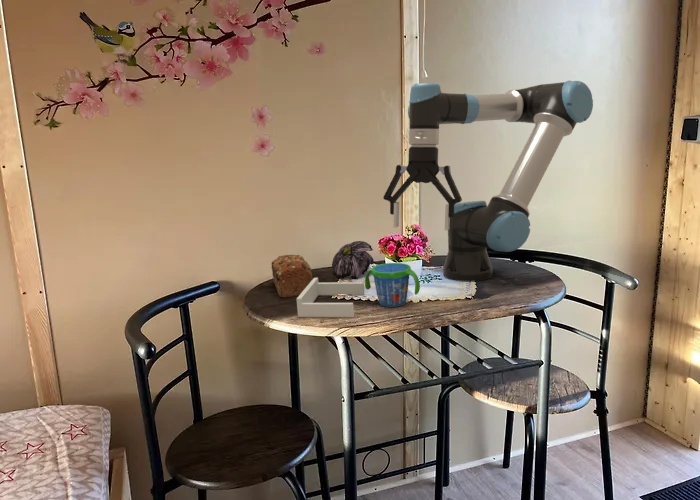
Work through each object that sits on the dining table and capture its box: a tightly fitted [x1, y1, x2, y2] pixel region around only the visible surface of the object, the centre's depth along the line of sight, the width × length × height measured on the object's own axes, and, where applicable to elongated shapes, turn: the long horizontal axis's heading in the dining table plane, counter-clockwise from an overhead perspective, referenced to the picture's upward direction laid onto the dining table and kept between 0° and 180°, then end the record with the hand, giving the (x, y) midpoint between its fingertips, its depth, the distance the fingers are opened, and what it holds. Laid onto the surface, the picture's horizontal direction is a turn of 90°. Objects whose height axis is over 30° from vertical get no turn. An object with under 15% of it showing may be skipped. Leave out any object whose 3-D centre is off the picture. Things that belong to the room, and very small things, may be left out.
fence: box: [296, 277, 365, 318], centre depth 150 cm, size 15×20×5 cm
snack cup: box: [364, 262, 421, 308], centre depth 147 cm, size 16×10×10 cm
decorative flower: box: [331, 240, 374, 280], centre depth 179 cm, size 15×12×15 cm
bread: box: [271, 254, 313, 298], centre depth 167 cm, size 19×11×10 cm, turn 13°
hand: (421, 228), depth 144 cm, fingers open, 13 cm apart
